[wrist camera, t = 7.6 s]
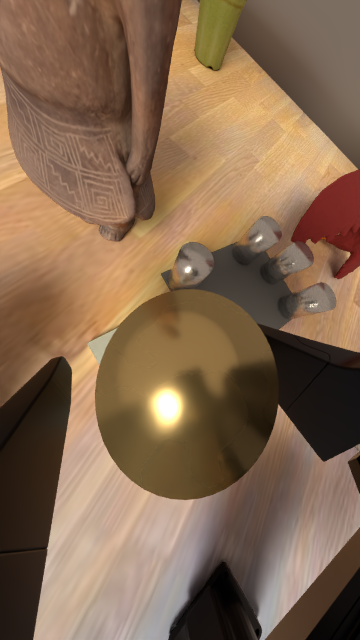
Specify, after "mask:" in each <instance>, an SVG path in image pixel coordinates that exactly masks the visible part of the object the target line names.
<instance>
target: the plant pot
mask: <svg viewBox="0 0 360 640" xmlns="http://www.w3.org/2000/svg"><path fill="white" fill-rule="evenodd" d="M246 1H247V0H200V7H199V16H198V25H197V33H196V41H195V53H196V57H197V59H198V60H199V61H200V62H201V63H202V64H203V65H204V66H206V67H208V66H211V67H212V68H213V70H218V69H220V67H221V64H222V61H223V59H224V56H225V53H226V51H227V48H228V45H229V43H230V40H231V37H232V35H233V32H234V29H235V27H236V24H237V21H238V19H239V16H240V13H241V11H242V8H243V6H244V5H245V3H246Z"/></svg>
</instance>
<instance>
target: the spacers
mask: <svg viewBox="0 0 360 640" xmlns="http://www.w3.org/2000/svg"><path fill="white" fill-rule="evenodd" d="M281 236H282V232H281V229H280V227H279V225H278V223H277V222H276V221H275V220H274V219H272V218H270V217H268V216H262V217H260V218H259V219H258V220H257V221H256V223H255V224H254V225H253V226H252V227H251V228H250V229H249V230H248V231H247V232H246V234H245V235H244V236H243V237H242V238H241V239H240V240H239V241H238V242H237V243H236V244H235V246H234V247H233V249H232V255H233V257H234V259H235V260H236V261H237V262H238V263H239V264H241V265H248V264H250V263H251V262H252V261H254V260H255V259H256V258H258V257H259V256H260V255H261V254H263V253H264V252H265V251H266V250H268V249H269V248H270V247H272V246H273V245H274V244H275V243H277V242H278V241H279V240H280V239H281ZM313 260H314V259H313V254H312V252H311V250H310V248H309V247H308V246H307V245H306V244H305V243H303V242H301V241H296V242H294V243H293V244H291V245H290V246H288V247H287V248H285V249H284V250H283V251H281V252H280V253H278V254H277V255H275V256H274V257H273V258H271V259H270V260H268V261H267V262H265V263H264V264H263V265H262V266H261V268H260V273H261V276H262V278H263V279H264V280H265V281H266V282H267V283H269V284H275V283H277V282H279V281H281V280H283V279H285V278H287V277H289V276H291V275H293V274H295V273H297V272H299V271H301V270H303V269H305V268H307V267H309V266H311V265H312V264H313ZM213 267H214V259H213V256H212V254H211V252H210V251H209V250H208V249H207V248H206V247H205V246H204V245H202V244H199V243H196V242H190V243H186V244H185V245H183V246H182V247H181V249H180V251H179V253H178V256H177V258H176V260H175V263H174V265H173V268H172V270H171V272H170V275H169V277H168V284H169V287H170V289H171V290H172V291H176V290H182V289H196V287H197V286H198V285H199V284H200V283H201V282H202V281H203V280H204V279H205V278H206V277H207V275H208V274H209V273H210V272H211V271H212V269H213ZM335 306H336V297H335V294H334V292H333V290H332V289H331V288H330V287H329V286H328V285H327V284H325V283H322V282H321V283H317V284H315V285H312V286H310V287H307V288H304V289H302V290H299V291H296V292H294V293H291V294H289V295H286V296H283V297H281V298H280V299H279V301H278V309H279V312H280V313H281V315H282V316H283V317H285V318H287V319H292V318H297V317H302V316H306V315H311V314H315V313H320V312H324V311H329V310H333V309H334V308H335Z"/></svg>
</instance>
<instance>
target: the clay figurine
mask: <svg viewBox="0 0 360 640" xmlns="http://www.w3.org/2000/svg"><path fill="white" fill-rule="evenodd" d="M181 2H182V0H0V67H1V71H2V76H3V80H4V86H5V91H6V102H7V113H8V128H9V135H10V139H11V143H12V146H13V149H14V152H15V154H16V157H17V160H18V161H19V163H20V165H21V167H22V169H23V170H24V171H25V173H26V174H27V176H28V177H29V178H30V179H31V181H32V182H33V183H34V184H35V185H36V186H37V187H38V188H39V189H40V190H41V191H42V192H43V193H45V194H46V195H47V196H48V197H49V198H51V199H52V200H53V201H54V202H56V203H57V204H59V205H60V206H61V207H63V208H64V209H65V210H67V211H68V212H70V213H72V214H74V215H76V216H78V217H80V218H81V219H82V220H84V221H85V222H87V223H91V224H98V225H100V228H99V231H100V233H101V235H102V236H103V237H104V238H105V239H107V240H111V241H120V240H121V239H122V238H123V236H124V234H125V233H127V231H128V230H129V229H130V228H131V226H132V225H133V224H134V221H135V218H134V216H137V217H139V218H140V219H142V220H148V219H150V218H151V217H152V215H153V213H154V209H155V195H154V189H153V184H152V179H151V174H150V170H151V167H152V162H153V158H154V154H155V149H156V144H157V140H158V136H159V131H160V126H161V119H162V113H163V108H164V102H165V96H166V89H167V83H168V75H169V69H170V64H171V57H172V51H173V45H174V40H175V36H176V31H177V26H178V20H179V14H180V8H181Z"/></svg>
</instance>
